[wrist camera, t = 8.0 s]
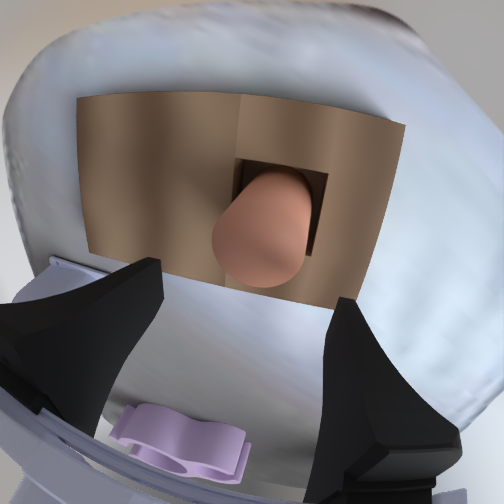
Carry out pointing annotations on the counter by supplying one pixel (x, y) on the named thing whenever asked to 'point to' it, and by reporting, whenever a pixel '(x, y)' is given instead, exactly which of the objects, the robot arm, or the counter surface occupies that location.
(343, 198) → the board
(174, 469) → the clip
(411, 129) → the counter surface
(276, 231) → the pin
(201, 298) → the counter surface
